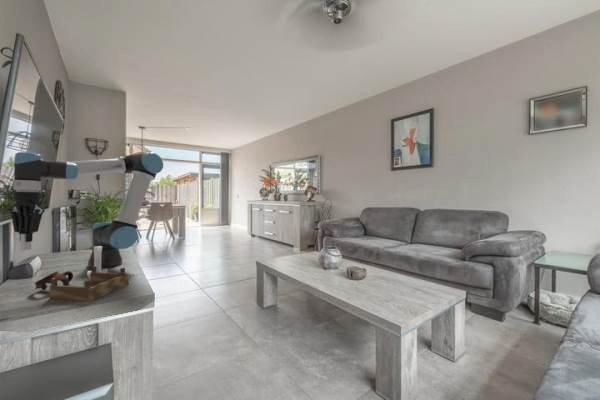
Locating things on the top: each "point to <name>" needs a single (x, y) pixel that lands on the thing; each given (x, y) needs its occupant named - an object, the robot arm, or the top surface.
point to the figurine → (97, 261)
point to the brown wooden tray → (88, 293)
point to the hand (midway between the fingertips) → (25, 249)
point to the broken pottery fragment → (57, 276)
